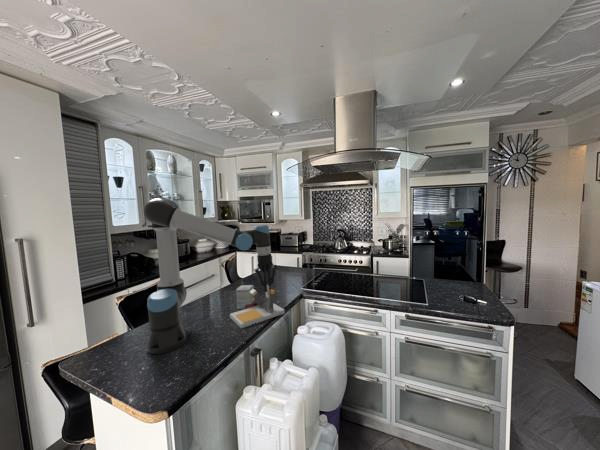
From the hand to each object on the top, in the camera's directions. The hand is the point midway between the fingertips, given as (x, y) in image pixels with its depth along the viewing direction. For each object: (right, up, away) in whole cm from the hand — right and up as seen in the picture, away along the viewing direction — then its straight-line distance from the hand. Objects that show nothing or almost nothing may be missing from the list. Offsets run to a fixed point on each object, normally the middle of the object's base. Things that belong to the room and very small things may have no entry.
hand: (268, 297), depth 132 cm
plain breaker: (-5, -6, +8) cm, 11 cm away
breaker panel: (-6, -10, +1) cm, 12 cm away
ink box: (-15, -10, +15) cm, 23 cm away
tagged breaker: (+1, -7, +1) cm, 7 cm away
